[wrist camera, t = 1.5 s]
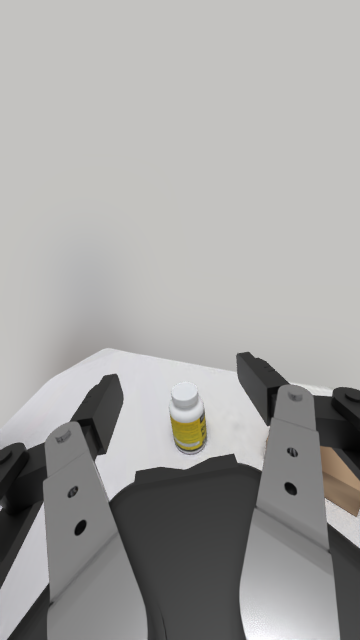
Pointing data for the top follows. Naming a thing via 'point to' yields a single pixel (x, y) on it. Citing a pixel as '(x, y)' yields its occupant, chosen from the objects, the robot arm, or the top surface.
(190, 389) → the supplement bottle
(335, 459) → the plinth
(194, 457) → the top surface
